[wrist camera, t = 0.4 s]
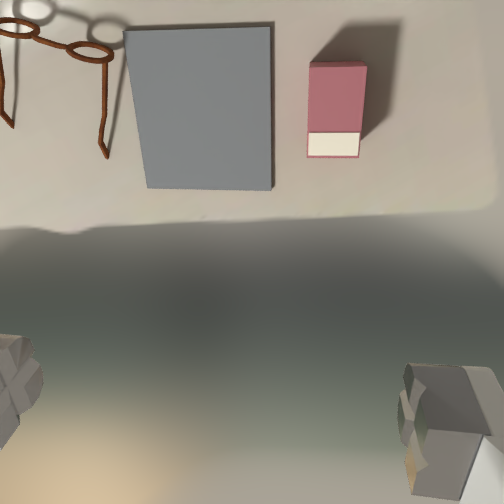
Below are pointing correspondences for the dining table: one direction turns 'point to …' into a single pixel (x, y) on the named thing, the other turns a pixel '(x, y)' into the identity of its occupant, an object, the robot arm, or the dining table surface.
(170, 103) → the gray mat
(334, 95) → the card box
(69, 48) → the glasses
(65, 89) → the dining table surface
